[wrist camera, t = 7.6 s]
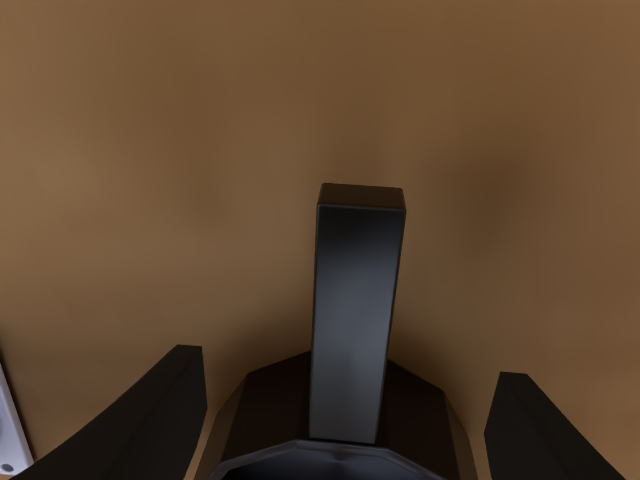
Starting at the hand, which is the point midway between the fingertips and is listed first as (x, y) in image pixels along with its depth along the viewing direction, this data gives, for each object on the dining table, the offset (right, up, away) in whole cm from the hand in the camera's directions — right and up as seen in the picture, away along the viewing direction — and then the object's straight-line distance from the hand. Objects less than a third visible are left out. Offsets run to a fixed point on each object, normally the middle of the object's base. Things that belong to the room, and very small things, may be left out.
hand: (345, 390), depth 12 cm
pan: (0, -2, +6) cm, 6 cm away
